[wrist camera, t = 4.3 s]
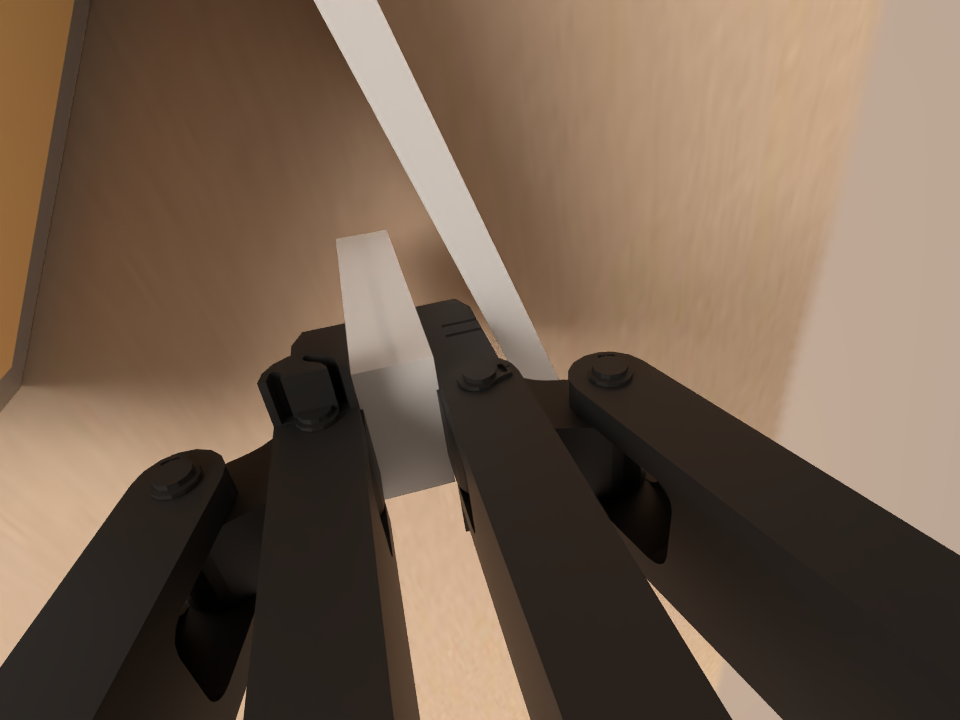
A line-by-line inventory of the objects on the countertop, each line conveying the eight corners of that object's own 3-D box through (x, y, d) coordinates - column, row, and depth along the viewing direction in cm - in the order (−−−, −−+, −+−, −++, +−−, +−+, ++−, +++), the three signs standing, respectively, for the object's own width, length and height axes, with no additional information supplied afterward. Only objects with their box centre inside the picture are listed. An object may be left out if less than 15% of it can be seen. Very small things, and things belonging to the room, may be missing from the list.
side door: (142, -295, 10) (-37, -604, 5) (200, -330, 10) (77, -676, 5) (486, 334, 18) (547, 451, 13) (519, 317, 18) (591, 428, 13)
